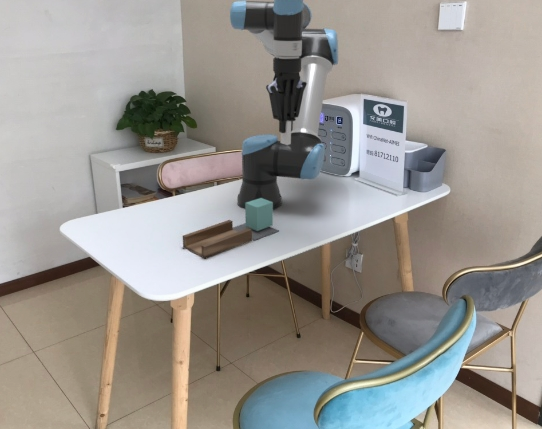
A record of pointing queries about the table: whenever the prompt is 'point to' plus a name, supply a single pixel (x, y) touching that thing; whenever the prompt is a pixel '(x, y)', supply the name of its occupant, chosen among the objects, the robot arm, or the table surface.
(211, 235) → the chute
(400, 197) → the table surface
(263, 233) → the mat
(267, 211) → the block
